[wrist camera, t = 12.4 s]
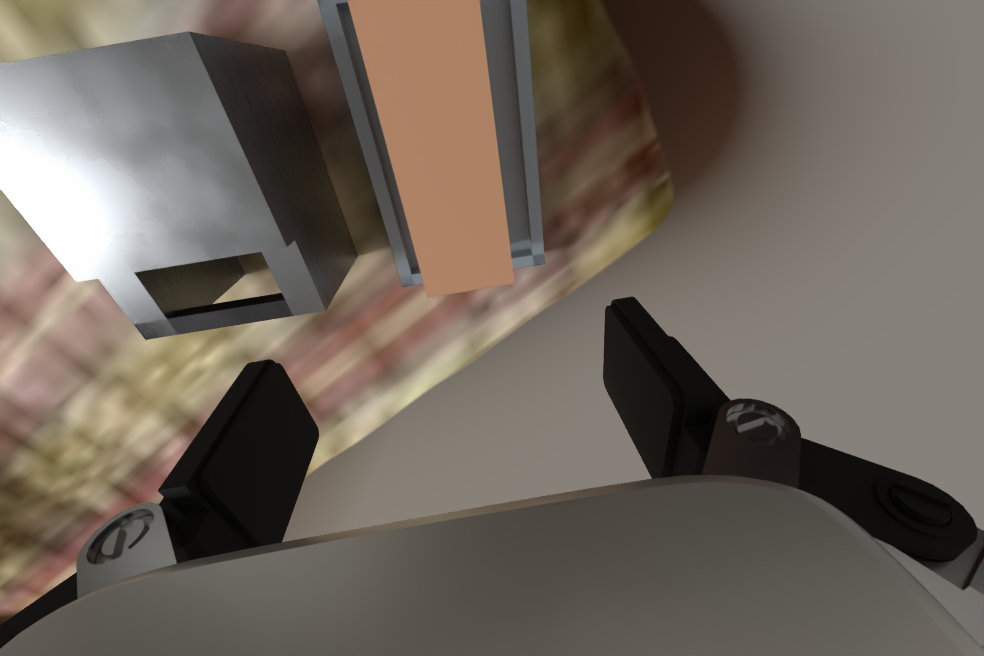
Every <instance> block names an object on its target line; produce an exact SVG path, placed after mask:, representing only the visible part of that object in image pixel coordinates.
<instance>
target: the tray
mask: <svg viewBox="0 0 984 656" xmlns="http://www.w3.org/2000/svg"><path fill="white" fill-rule="evenodd" d="M317 1H318V4H319V8H320V11H321V14H322V18H323V21H324V24H325V28H326V31H327V34H328V38H329V41H330V44H331V48H332V51H333V54H334V58H335V61H336V64H337V68H338V71H339V74H340V78H341V81H342V84H343V88H344V91H345V94H346V98H347V101H348V104H349V108H350V111H351V115H352V118H353V121H354V125H355V128H356V131H357V135H358V138H359V141H360V145H361V148H362V151H363V155H364V158H365V161H366V165H367V168H368V171H369V175H370V178H371V181H372V185H373V188H374V191H375V195H376V198H377V201H378V205H379V208H380V211H381V215H382V218H383V221H384V225H385V228H386V231H387V235H388V238H389V242H390V245H391V248H392V252H393V255H394V258H395V262H396V265H397V268H398V272H399V275H400V278H401V282H402V285H403V287H406V286H412V285H418V284H424V283H423V279H422V275H421V272H420V268H419V264H418V261H417V257H416V253H415V249H414V246H413V242H412V238H411V235H410V231H409V227H408V223H407V220H406V216H405V212H404V209H403V205H402V201H401V197H400V194H399V190H398V186H397V183H396V179H395V175H394V171H393V168H392V164H391V160H390V157H389V153H388V149H387V145H386V142H385V138H384V134H383V131H382V127H381V123H380V119H379V116H378V112H377V108H376V105H375V101H374V97H373V93H372V90H371V86H370V82H369V79H368V75H367V71H366V67H365V64H364V60H363V56H362V53H361V49H360V45H359V41H358V38H357V34H356V30H355V27H354V23H353V19H352V15H351V12H350V8H349V4H348V1H350V0H317ZM479 1H480V9H481V17H482V25H483V33H484V41H485V49H486V57H487V65H488V73H489V81H490V89H491V97H492V105H493V113H494V121H495V129H496V137H497V145H498V153H499V161H500V169H501V177H502V185H503V194H504V202H505V210H506V218H507V226H508V234H509V242H510V250H511V258H512V266H513V269H517V268H523V267H529V266H535V265H542V264H545V257H544V243H543V229H542V214H541V200H540V186H539V172H538V157H537V143H536V129H535V114H534V100H533V86H532V72H531V57H530V43H529V29H528V14H527V0H479Z"/></svg>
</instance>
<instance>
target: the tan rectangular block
mask: <svg viewBox="0 0 984 656" xmlns="http://www.w3.org/2000/svg"><path fill="white" fill-rule="evenodd" d="M348 4H349V8H350V12H351V15H352V19H353V23H354V27H355V30H356V34H357V38H358V41H359V45H360V49H361V53H362V56H363V60H364V64H365V67H366V71H367V75H368V79H369V82H370V86H371V90H372V93H373V97H374V101H375V105H376V108H377V112H378V116H379V119H380V123H381V127H382V131H383V134H384V138H385V142H386V145H387V149H388V153H389V157H390V160H391V164H392V168H393V171H394V175H395V179H396V183H397V186H398V190H399V194H400V197H401V201H402V205H403V209H404V212H405V216H406V220H407V223H408V227H409V231H410V235H411V238H412V242H413V246H414V249H415V253H416V257H417V261H418V264H419V268H420V272H421V275H422V279H423V283H424V287H425V290H426V294H427V298H428V297H434V296H441V295H447V294H453V293H459V292H465V291H471V290H477V289H483V288H489V287H495V286H501V285H507V284H513V283H515V282H514V274H513V266H512V258H511V250H510V242H509V234H508V226H507V218H506V210H505V202H504V194H503V185H502V177H501V169H500V161H499V153H498V145H497V137H496V129H495V121H494V113H493V105H492V97H491V89H490V81H489V73H488V65H487V57H486V49H485V41H484V33H483V25H482V17H481V9H480V1H479V0H350V1H348Z"/></svg>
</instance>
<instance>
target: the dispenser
mask: <svg viewBox="0 0 984 656" xmlns="http://www.w3.org/2000/svg"><path fill="white" fill-rule="evenodd" d="M0 188H1V190H2V191H3V192H4V193H5V194H6V196H7V197H8V198H9V199H10V201H11V202H12V203H13V204H14V206H15V207H16V208H17V209H18V210H19V212H20V213H21V214H22V215H23V217H24V218H25V219H26V220H27V222H28V223H29V224H30V225H31V226H32V228H33V229H34V230H35V231H36V233H37V234H38V235H39V236H40V237H41V239H42V240H43V241H44V242H45V244H46V245H47V246H48V247H49V249H50V250H51V251H52V252H53V253H54V255H55V256H56V257H57V258H58V260H59V261H60V262H61V263H62V265H63V266H64V267H65V268H66V269H67V271H68V272H69V273H70V274H71V276H72V277H73V278H74V279H75V280H76V282H80V281H86V280H92V279H99V280H100V282H101V283H102V284H103V285H104V287H105V288H106V289H107V291H108V292H109V293H110V294H111V296H112V297H113V298H114V300H115V301H116V302H117V303H118V305H119V306H120V307H121V309H122V310H123V311H124V312H125V314H126V315H127V316H128V318H129V319H130V320H131V322H132V323H133V324H134V325H135V327H136V328H137V329H138V331H139V332H140V333H141V334H142V336H143V337H144V338H145V340H147V339H153V338H159V337H165V336H172V335H178V334H184V333H190V332H196V331H203V330H209V329H215V328H221V327H227V326H234V325H240V324H246V323H252V322H258V321H265V320H271V319H277V318H283V317H289V316H295V315H302V314H308V313H314V312H320V311H326V309H327V308H328V306H329V304H330V303H331V301H332V299H333V297H334V296H335V294H336V292H337V291H338V289H339V287H340V286H341V284H342V282H343V280H344V279H345V277H346V275H347V274H348V272H349V270H350V268H351V267H352V265H353V263H354V262H355V260H356V258H357V257H358V256H357V253H356V250H355V247H354V245H353V242H352V239H351V236H350V233H349V230H348V228H347V225H346V222H345V219H344V216H343V214H342V211H341V208H340V205H339V202H338V199H337V197H336V194H335V191H334V188H333V185H332V182H331V180H330V177H329V174H328V171H327V168H326V166H325V163H324V160H323V157H322V154H321V151H320V149H319V146H318V143H317V140H316V137H315V135H314V132H313V129H312V126H311V123H310V120H309V118H308V115H307V112H306V109H305V106H304V103H303V101H302V98H301V95H300V92H299V89H298V87H297V84H296V81H295V78H294V75H293V72H292V70H291V67H290V64H289V61H288V58H287V56H286V53H285V51H284V50H279V49H274V48H269V47H264V46H259V45H254V44H249V43H244V42H239V41H234V40H229V39H224V38H219V37H214V36H208V35H203V34H198V33H193V32H183V33H177V34H171V35H166V36H160V37H154V38H148V39H142V40H136V41H131V42H125V43H119V44H113V45H107V46H101V47H96V48H90V49H84V50H78V51H72V52H66V53H61V54H55V55H49V56H43V57H37V58H31V59H26V60H20V61H14V62H8V63H2V64H0ZM257 252H262V254H263V256H264V258H265V260H266V262H267V264H268V266H269V268H270V270H271V272H272V274H273V276H274V278H275V280H276V282H277V284H278V286H279V288H280V290H281V292H282V293H278V294H272V295H266V296H260V297H254V298H247V299H241V300H235V301H229V302H223V303H217V304H213V303H214V302H215V301H216V300H217V299H218V298H219V297H221V296H222V295H223V294H224V293H225V292H226V291H227V290H228V289H230V288H231V287H232V286H233V285H234V284H235V283H236V282H237V281H239V280H240V279H241V278H242V277H243V276H244V275H245V273H244V272H243V270H242V268H241V266H240V264H239V262H238V261H237V259H236V257H235V256H239V255H245V254H251V253H257Z"/></svg>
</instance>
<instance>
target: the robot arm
mask: <svg viewBox="0 0 984 656" xmlns="http://www.w3.org/2000/svg"><path fill="white" fill-rule="evenodd" d="M603 380H604V385H605V388H606V390H607V392H608V394H609V396H610V398H611V400H612V402H613V404H614V406H615V408H616V410H617V411H618V414H619V415H620V417H621V419H622V421H623V423H624V425H625V427H626V429H627V431H628V433H629V435H630V437H631V439H632V441H633V443H634V445H635V446H636V448H637V450H638V452H639V454H640V456H641V458H642V460H643V462H644V464H645V466H646V468H647V470H648V472H649V474H650V476H651V477H652V479H647V480H641V481H634V482H628V483H621V484H615V485H608V486H602V487H595V488H589V489H583V490H577V491H571V492H565V493H559V494H553V495H547V496H542V497H536V498H530V499H524V500H518V501H513V502H506V503H501V504H495V505H489V506H483V507H478V508H472V509H466V510H460V511H455V512H449V513H444V514H437V515H432V516H426V517H420V518H415V519H409V520H404V521H398V522H392V523H387V524H381V525H375V526H370V527H364V528H358V529H353V530H348V531H343V532H337V533H331V534H325V535H320V536H314V537H309V538H303V539H298V540H293V541H287V542H282V540H283V537H284V535H285V532H286V529H287V526H288V523H289V520H290V518H291V515H292V512H293V509H294V507H295V504H296V501H297V498H298V495H299V493H300V490H301V487H302V484H303V481H304V478H305V476H306V473H307V470H308V467H309V464H310V462H311V459H312V456H313V453H314V450H315V448H316V445H317V442H318V439H319V431H318V427H317V425H316V424H315V422H314V420H313V418H312V417H311V415H310V413H309V411H308V410H307V408H306V406H305V404H304V403H303V401H302V399H301V397H300V396H299V394H298V392H297V391H296V389H295V387H294V385H293V384H292V382H291V380H290V378H289V377H288V375H287V373H286V371H285V370H284V368H283V366H282V365H281V364H279V363H275V362H274V361H273V360H270V359H269V360H263V361H257V362H251V363H248V364H247V365H246V366H245V367H244V369H243V370H242V371H241V373H240V374H239V376H238V377H237V379H236V380H235V381H234V383H233V384H232V386H231V387H230V388H229V390H228V391H227V393H226V394H225V396H224V397H223V398H222V400H221V401H220V403H219V404H218V406H217V407H216V408H215V410H214V411H213V413H212V414H211V416H210V417H209V418H208V420H207V421H206V423H205V424H204V426H203V427H202V428H201V430H200V431H199V433H198V434H197V436H196V437H195V438H194V440H193V441H192V443H191V444H190V445H189V447H188V448H187V450H186V451H185V453H184V454H183V455H182V457H181V458H180V460H179V461H178V463H177V464H176V465H175V467H174V468H173V470H172V471H171V473H170V474H169V475H168V477H167V478H166V480H165V481H164V483H163V484H162V485H161V487H160V488H159V490H158V492H159V493H161V494H162V495H163V496H164V498H163V499H162V501H161V502H160V504H156V503H153V502H148V503H141V504H138V505H135V506H132V507H130V508H128V509H126V510H124V511H122V512H120V513H118V514H117V515H115V516H114V517H112V518H111V519H110V520H108V521H107V522H105V523H104V524H103V525H102V526H101V527H100V528H99V529H98V530H96V531H95V532H94V533H93V534H92V536H91V537H90V538H89V539H88V540H87V542H86V543H85V544H84V546H83V547H82V549H81V551H80V553H79V554H78V559H77V563H76V566H77V572H76V573H75V574H73V575H72V576H70V577H69V578H68V579H66V580H65V581H63V582H62V583H60V584H59V585H58V586H56V587H55V588H53V589H52V590H50V591H49V592H47V593H46V594H45V595H43V596H42V597H40V598H39V599H37V600H36V601H35V602H33V603H32V604H30V605H29V606H27V607H26V608H24V609H23V610H22V611H20V612H19V613H17V614H16V615H14V616H13V617H12V618H10V619H9V620H7V621H6V622H4V623H3V624H1V625H0V656H984V531H983V530H981V529H979V528H977V527H976V524H975V522H974V520H973V518H972V517H971V515H970V514H969V513H968V512H967V511H966V510H965V508H964V507H963V506H962V505H961V504H960V503H959V502H957V501H956V500H955V499H954V498H953V497H951V496H950V495H949V494H947V493H946V492H944V491H942V490H940V489H939V488H937V487H935V486H934V485H932V484H930V483H927V482H925V481H923V480H921V479H918V478H916V477H913V476H910V475H907V474H905V473H902V472H899V471H896V470H893V469H890V468H887V467H884V466H881V465H878V464H875V463H873V462H870V461H867V460H864V459H861V458H858V457H855V456H853V455H850V454H847V453H844V452H841V451H838V450H835V449H833V448H830V447H827V446H824V445H821V444H818V443H815V442H812V441H810V440H807V439H803V438H801V433H800V428H799V426H798V425H797V423H796V422H795V421H794V419H793V418H792V417H791V416H790V415H788V414H787V413H786V412H785V411H783V410H781V409H780V408H778V407H776V406H774V405H772V404H769V403H766V402H764V401H760V400H755V399H735V400H730V399H729V398H728V397H727V396H726V395H725V394H724V392H723V391H722V390H721V389H720V388H719V387H718V386H717V385H716V384H715V382H714V381H713V380H712V379H711V378H710V377H709V376H708V375H707V373H706V372H705V371H704V370H703V369H702V368H701V367H700V365H699V364H698V363H697V362H696V361H695V360H694V359H693V358H692V356H691V355H690V354H689V353H688V352H687V351H686V350H685V349H684V348H683V346H682V345H681V344H680V343H679V342H678V341H677V340H676V339H675V338H674V337H671V336H668V335H667V334H666V333H665V332H664V331H663V330H662V328H661V327H660V326H659V325H658V324H657V323H656V321H654V319H653V318H652V317H651V316H650V315H649V313H648V312H647V311H646V310H645V309H644V308H643V307H642V305H641V304H640V303H639V302H638V301H637V300H636V299H635V298H634V297H627V298H622V299H615V300H613V301H612V303H611V305H610V306H607V307H606V309H605V335H604V367H603Z"/></svg>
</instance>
